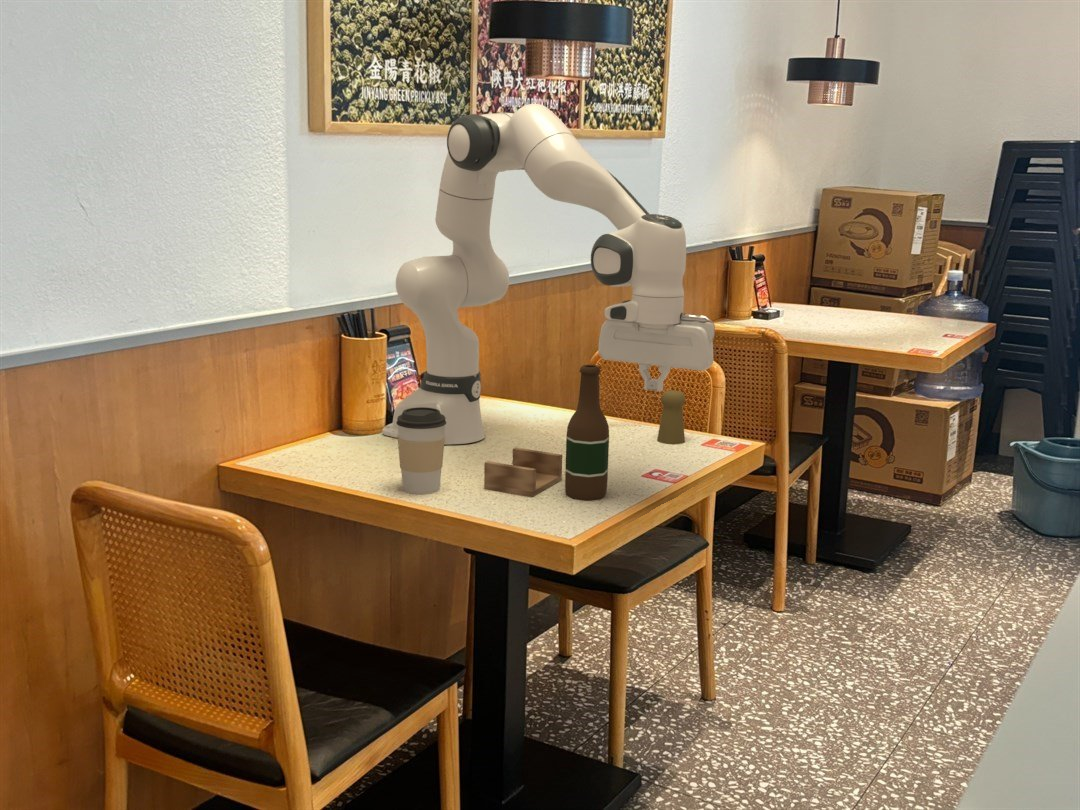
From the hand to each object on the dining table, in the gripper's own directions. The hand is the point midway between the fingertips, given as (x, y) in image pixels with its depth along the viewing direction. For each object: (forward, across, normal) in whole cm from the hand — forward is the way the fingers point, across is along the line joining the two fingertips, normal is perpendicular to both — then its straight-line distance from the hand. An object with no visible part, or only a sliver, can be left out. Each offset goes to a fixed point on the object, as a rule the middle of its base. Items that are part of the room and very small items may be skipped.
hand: (653, 389), depth 200 cm
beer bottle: (+21, +12, 0) cm, 25 cm away
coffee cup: (+21, +40, +12) cm, 47 cm away
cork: (+21, +12, -45) cm, 51 cm away
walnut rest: (+21, +25, 0) cm, 33 cm away
